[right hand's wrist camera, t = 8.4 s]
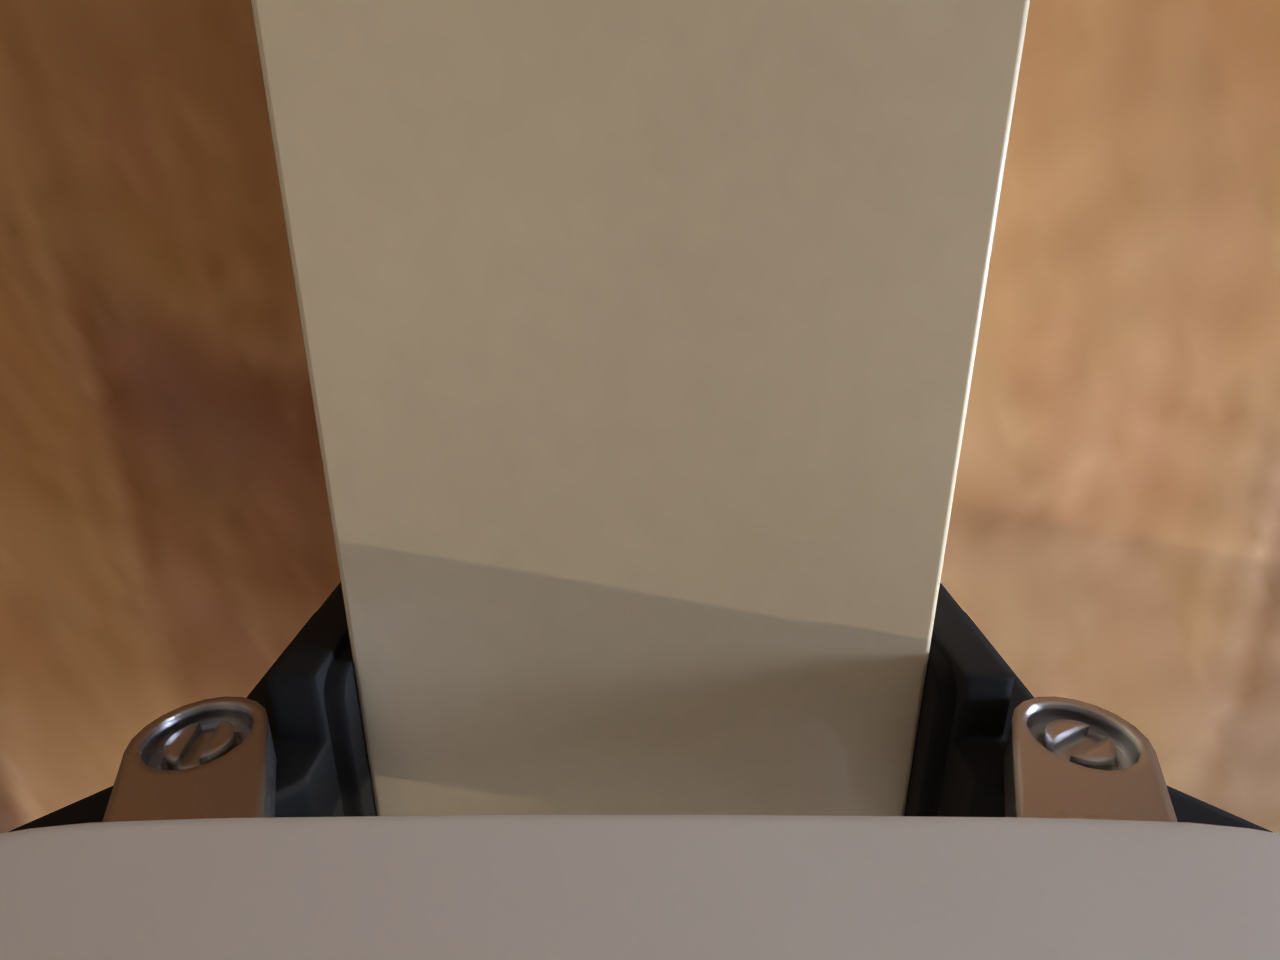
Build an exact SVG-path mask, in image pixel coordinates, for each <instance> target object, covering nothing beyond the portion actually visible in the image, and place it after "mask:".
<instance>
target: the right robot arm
mask: <svg viewBox="0 0 1280 960" xmlns="http://www.w3.org/2000/svg"><path fill="white" fill-rule="evenodd" d="M0 960H1280V834H1279V833H1274V832H1271V831H1269V830H1267V829H1264V828H1262V827H1260V826H1258V825H1255V824H1253V823H1251V822H1249V821H1246V820H1244V819H1242V818H1239V817H1237V816H1235V815H1233V814H1230V813H1228V812H1226V811H1223V810H1221V809H1219V808H1217V807H1214V806H1212V805H1210V804H1208V803H1205V802H1203V801H1201V800H1198V799H1196V798H1194V797H1192V796H1189V795H1187V794H1185V793H1182V792H1180V791H1178V790H1176V789H1173V788H1171V787H1169V786H1166V783H1165V780H1164V777H1163V774H1162V770H1161V767H1160V764H1159V761H1158V758H1157V754H1156V752H1155V750H1154V748H1153V747H1152V745H1151V743H1150V741H1149V740H1148V739H1147V738H1146V737H1145V736H1144V735H1143V734H1142V733H1141V732H1140V731H1139V730H1138V729H1137V728H1136V727H1135V726H1133V725H1132V724H1130V723H1129V722H1127V721H1125V720H1124V719H1122V718H1121V717H1119V716H1118V715H1116V714H1114V713H1111V712H1109V711H1107V710H1105V709H1102V708H1100V707H1098V706H1095V705H1092V704H1089V703H1085V702H1082V701H1078V700H1075V699H1068V698H1061V697H1036V698H1034V697H1033V696H1032V694H1031V693H1030V692H1029V691H1028V689H1027V688H1026V687H1025V686H1024V684H1023V683H1022V682H1021V681H1020V680H1019V678H1018V677H1017V676H1016V675H1015V673H1014V672H1013V671H1012V670H1011V668H1010V667H1009V666H1008V665H1007V663H1006V662H1005V661H1004V660H1003V658H1002V657H1001V656H1000V655H999V653H998V652H997V651H996V650H995V648H994V647H993V646H992V645H991V643H990V642H989V641H988V640H987V638H986V637H985V636H984V635H983V633H982V632H981V631H980V630H979V629H978V627H977V626H976V625H975V624H974V622H973V621H972V620H971V619H970V617H969V616H968V615H967V614H966V613H965V612H964V611H963V610H962V609H961V608H960V606H959V605H958V604H957V603H956V601H955V600H954V599H953V598H952V596H951V595H950V594H949V593H948V591H947V590H946V589H945V588H944V586H943V585H942V584H941V583H940V586H939V592H938V599H937V605H936V612H935V618H934V624H933V631H932V637H931V644H930V650H929V657H928V663H927V670H926V676H925V683H924V689H923V696H922V702H921V709H920V715H919V721H918V728H917V734H916V741H915V747H914V754H913V760H912V767H911V773H910V780H909V786H908V793H907V799H906V806H905V812H904V816H809V815H449V816H377V812H376V805H375V799H374V792H373V786H372V779H371V773H370V766H369V760H368V753H367V747H366V741H365V734H364V728H363V721H362V715H361V708H360V702H359V695H358V689H357V682H356V676H355V669H354V663H353V656H352V650H351V644H350V637H349V631H348V624H347V618H346V611H345V605H344V598H343V592H342V585H341V582H340V584H339V585H338V586H337V587H336V589H335V590H334V591H333V592H332V594H331V595H330V596H329V597H328V599H327V600H326V601H325V602H324V604H323V605H322V606H321V607H320V609H319V610H318V611H317V612H316V613H314V615H313V616H312V617H311V618H310V620H309V621H308V622H307V623H306V624H305V626H304V627H303V628H302V629H301V631H300V632H299V633H298V634H297V636H296V637H295V638H294V639H293V641H292V642H291V643H290V644H289V646H288V647H287V648H286V649H285V651H284V652H283V653H282V654H281V656H280V657H279V658H278V659H277V661H276V662H275V663H274V664H273V666H272V667H271V668H270V669H269V670H268V672H267V673H266V674H265V675H264V677H263V678H262V679H261V680H260V682H259V683H258V684H257V685H256V687H255V688H254V689H253V690H252V692H251V693H250V694H249V695H248V697H247V698H244V697H219V698H212V699H205V700H202V701H198V702H195V703H191V704H188V705H185V706H182V707H180V708H178V709H175V710H173V711H171V712H169V713H166V714H164V715H162V716H161V717H159V718H158V719H156V720H155V721H153V722H151V723H150V724H148V725H147V726H145V727H144V728H143V729H142V730H141V731H140V732H139V733H138V734H137V735H136V736H135V737H134V738H133V739H132V740H131V741H130V743H129V745H128V747H127V748H126V750H125V752H124V754H123V758H122V761H121V764H120V767H119V770H118V774H117V777H116V780H115V783H114V786H112V787H109V788H107V789H105V790H103V791H100V792H98V793H96V794H94V795H91V796H89V797H87V798H84V799H82V800H80V801H78V802H75V803H73V804H71V805H68V806H66V807H64V808H62V809H59V810H57V811H55V812H52V813H50V814H48V815H46V816H43V817H41V818H39V819H37V820H34V821H32V822H30V823H27V824H25V825H23V826H21V827H18V828H16V829H14V830H11V831H9V832H7V833H1V834H0Z"/></svg>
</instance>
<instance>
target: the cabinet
mask: <svg viewBox="0 0 1280 960" xmlns="http://www.w3.org/2000/svg"><path fill="white" fill-rule="evenodd" d="M251 4H252V10H253V17H254V23H255V29H256V36H257V42H258V49H259V55H260V62H261V68H262V75H263V81H264V88H265V94H266V101H267V107H268V113H269V120H270V126H271V133H272V139H273V146H274V152H275V159H276V165H277V172H278V178H279V185H280V191H281V198H282V204H283V210H284V217H285V223H286V230H287V236H288V243H289V249H290V256H291V262H292V269H293V275H294V282H295V288H296V294H297V301H298V307H299V314H300V320H301V327H302V333H303V340H304V346H305V353H306V359H307V366H308V372H309V379H310V385H311V391H312V398H313V404H314V411H315V417H316V424H317V430H318V437H319V443H320V450H321V456H322V463H323V469H324V475H325V482H326V488H327V495H328V501H329V508H330V514H331V521H332V527H333V534H334V540H335V547H336V553H337V560H338V566H339V572H340V579H341V585H342V592H343V598H344V605H345V611H346V618H347V624H348V631H349V637H350V644H351V650H352V656H353V663H354V669H355V676H356V682H357V689H358V695H359V702H360V708H361V715H362V721H363V728H364V734H365V741H366V747H367V753H368V760H369V766H370V773H371V779H372V786H373V792H374V799H375V805H376V812H377V816H449V815H809V816H904V812H905V806H906V799H907V793H908V786H909V780H910V773H911V767H912V760H913V754H914V747H915V741H916V734H917V728H918V721H919V715H920V709H921V702H922V696H923V689H924V683H925V676H926V670H927V663H928V657H929V650H930V644H931V637H932V631H933V624H934V618H935V612H936V605H937V599H938V592H939V586H940V579H941V573H942V566H943V560H944V553H945V547H946V540H947V534H948V527H949V521H950V515H951V508H952V502H953V495H954V489H955V482H956V476H957V469H958V463H959V456H960V450H961V443H962V437H963V430H964V424H965V418H966V411H967V405H968V398H969V392H970V385H971V379H972V372H973V366H974V359H975V353H976V346H977V340H978V333H979V327H980V321H981V314H982V308H983V301H984V295H985V288H986V282H987V275H988V269H989V262H990V256H991V249H992V243H993V237H994V230H995V224H996V217H997V211H998V204H999V198H1000V191H1001V185H1002V178H1003V172H1004V165H1005V159H1006V152H1007V146H1008V140H1009V133H1010V127H1011V120H1012V114H1013V107H1014V101H1015V94H1016V88H1017V81H1018V75H1019V68H1020V62H1021V55H1022V49H1023V43H1024V36H1025V30H1026V23H1027V17H1028V10H1029V4H1030V0H251Z"/></svg>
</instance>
